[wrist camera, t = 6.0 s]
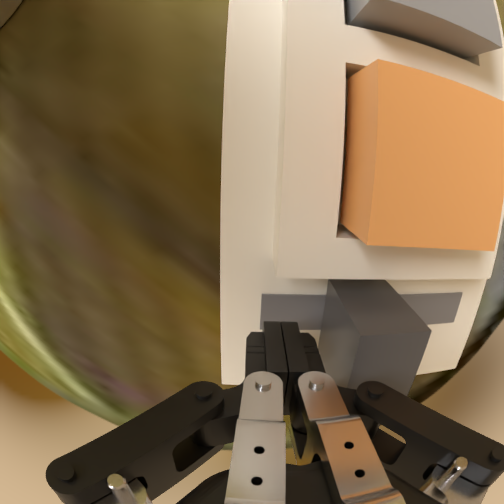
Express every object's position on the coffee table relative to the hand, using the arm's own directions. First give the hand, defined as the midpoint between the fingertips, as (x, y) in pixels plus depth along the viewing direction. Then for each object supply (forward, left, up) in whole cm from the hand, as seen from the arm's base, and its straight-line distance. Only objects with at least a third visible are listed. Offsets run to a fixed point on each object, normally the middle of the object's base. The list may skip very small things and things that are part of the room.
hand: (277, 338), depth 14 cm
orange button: (+5, +8, -1) cm, 10 cm away
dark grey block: (+4, 0, -2) cm, 4 cm away
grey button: (+5, +17, -1) cm, 18 cm away
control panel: (+5, +8, -4) cm, 10 cm away
